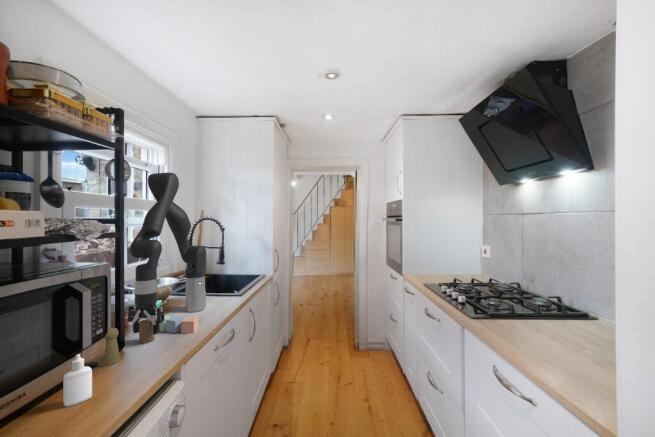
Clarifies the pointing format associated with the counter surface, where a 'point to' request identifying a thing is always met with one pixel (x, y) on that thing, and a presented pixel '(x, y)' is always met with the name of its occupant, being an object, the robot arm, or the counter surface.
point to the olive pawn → (110, 349)
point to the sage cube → (163, 323)
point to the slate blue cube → (174, 324)
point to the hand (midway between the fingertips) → (146, 333)
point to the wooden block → (146, 331)
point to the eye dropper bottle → (77, 383)
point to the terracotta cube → (189, 325)
